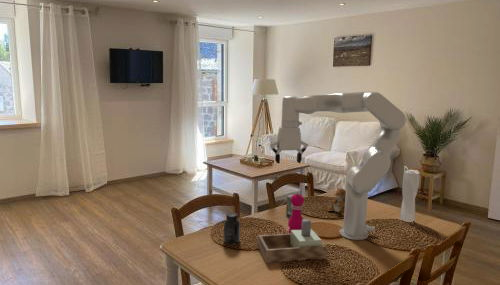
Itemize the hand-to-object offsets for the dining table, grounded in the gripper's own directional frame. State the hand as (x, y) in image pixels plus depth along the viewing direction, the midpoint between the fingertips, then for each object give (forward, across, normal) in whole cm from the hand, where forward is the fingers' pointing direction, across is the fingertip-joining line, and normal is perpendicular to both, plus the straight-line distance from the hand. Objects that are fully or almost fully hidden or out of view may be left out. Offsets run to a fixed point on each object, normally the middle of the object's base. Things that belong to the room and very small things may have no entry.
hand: (288, 162), depth 166 cm
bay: (+32, +4, +21) cm, 39 cm away
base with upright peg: (+31, -2, +21) cm, 38 cm away
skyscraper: (+32, -65, -4) cm, 73 cm away
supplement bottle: (+32, +26, +7) cm, 42 cm away
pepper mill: (+32, -4, +3) cm, 33 cm away
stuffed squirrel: (+33, -38, -22) cm, 55 cm away
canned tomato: (+33, -10, -18) cm, 39 cm away
